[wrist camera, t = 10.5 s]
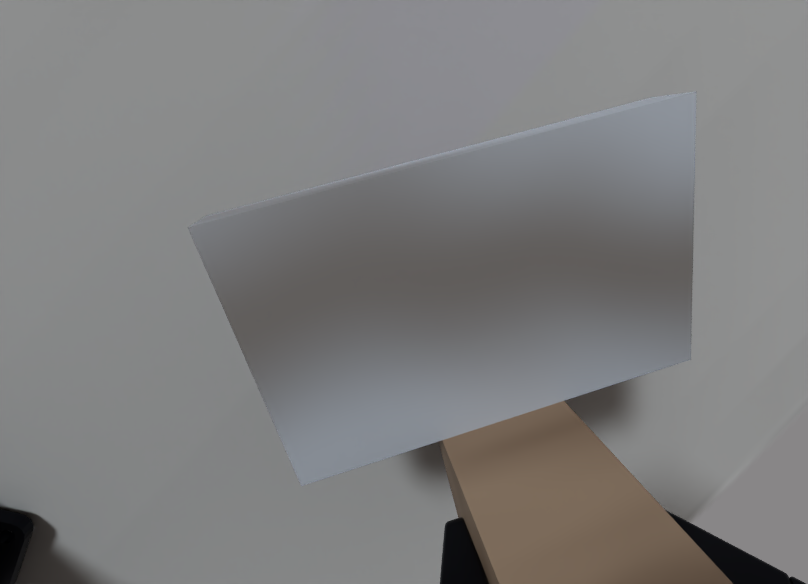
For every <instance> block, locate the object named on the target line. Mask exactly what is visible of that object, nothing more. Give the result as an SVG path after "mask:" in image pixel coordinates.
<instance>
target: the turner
mask: <svg viewBox="0 0 808 584" xmlns="http://www.w3.org/2000/svg"><path fill="white" fill-rule="evenodd" d="M695 134H696V92H689V93H681V94H674V95H666V96H659V97H651V98H647V99H643V100H640V101H636V102H632V103H628V104H625V105H621V106H617V107H613V108H610V109H606V110H602V111H598V112H595V113H591V114H587V115H583V116H580V117H576V118H572V119H568V120H564V121H561V122H557V123H553V124H549V125H546V126H542V127H538V128H534V129H531V130H527V131H523V132H519V133H516V134H512V135H508V136H504V137H501V138H497V139H493V140H489V141H486V142H482V143H478V144H474V145H471V146H467V147H463V148H459V149H455V150H452V151H448V152H444V153H440V154H437V155H433V156H429V157H425V158H422V159H418V160H414V161H410V162H407V163H403V164H399V165H395V166H392V167H388V168H384V169H380V170H377V171H373V172H369V173H365V174H362V175H358V176H354V177H350V178H346V179H343V180H339V181H335V182H331V183H328V184H324V185H320V186H316V187H313V188H309V189H305V190H301V191H298V192H294V193H290V194H286V195H283V196H279V197H275V198H271V199H268V200H264V201H260V202H256V203H253V204H249V205H245V206H241V207H237V208H234V209H230V210H226V211H222V212H219V213H215V214H211V215H207V216H205V217H203V218H202V219H200V220H199V221H197V222H196V223H194V224H192V225H191V226H189V227H188V229H189V231H190V234H191V236H192V238H193V240H194V243H195V245H196V247H197V250H198V252H199V254H200V256H201V259H202V261H203V263H204V266H205V268H206V270H207V272H208V275H209V277H210V279H211V281H212V284H213V286H214V288H215V291H216V293H217V295H218V297H219V300H220V302H221V304H222V307H223V309H224V311H225V313H226V316H227V318H228V320H229V322H230V325H231V327H232V329H233V332H234V334H235V336H236V338H237V341H238V343H239V345H240V348H241V350H242V352H243V354H244V357H245V359H246V361H247V363H248V366H249V368H250V370H251V373H252V375H253V377H254V379H255V382H256V384H257V386H258V389H259V391H260V393H261V395H262V398H263V400H264V402H265V404H266V407H267V409H268V411H269V414H270V416H271V418H272V420H273V423H274V425H275V427H276V430H277V432H278V434H279V436H280V439H281V441H282V443H283V445H284V448H285V450H286V452H287V455H288V457H289V459H290V461H291V464H292V466H293V468H294V471H295V473H296V475H297V477H298V480H299V482H300V484H301V486H303V485H306V484H309V483H312V482H315V481H318V480H322V479H325V478H328V477H331V476H334V475H337V474H340V473H343V472H346V471H349V470H352V469H355V468H358V467H362V466H365V465H368V464H371V463H374V462H377V461H380V460H383V459H386V458H389V457H392V456H395V455H398V454H402V453H405V452H408V451H411V450H414V449H417V448H420V447H423V446H426V445H429V444H432V443H435V442H438V441H439V445H440V449H441V453H442V457H443V460H444V464H445V468H446V472H447V476H448V480H449V483H450V487H451V491H452V495H453V499H454V502H455V506H456V510H457V514H458V518H460V517H462V518H464V521H465V523H466V526H467V528H468V531H469V533H470V536H471V538H472V541H473V543H474V546H475V548H476V551H477V553H478V556H479V558H480V561H481V563H482V566H483V568H484V571H485V573H486V576H487V579H488V583H489V584H733V583H732V582H731V581H730V580H729V579H728V578H727V577H726V575H725V574H724V573H723V572H722V571H721V570H720V569H719V568H718V567H717V566H716V565H715V564H714V562H713V561H712V560H711V559H710V558H709V557H708V556H707V555H706V554H705V553H704V552H703V551H702V550H701V548H700V547H699V546H698V545H697V544H696V543H695V542H694V541H693V540H692V539H691V538H690V537H689V535H688V534H687V533H686V532H685V531H684V530H683V529H682V528H681V527H680V526H679V525H678V524H677V522H676V521H675V520H674V519H673V518H672V517H671V516H670V515H669V514H668V513H667V512H666V511H665V510H664V508H663V507H662V506H661V505H660V504H659V503H658V502H657V501H656V500H655V499H654V498H653V497H652V495H651V494H650V493H649V492H648V491H647V490H646V489H645V488H644V487H643V486H642V485H641V484H640V482H639V481H638V480H637V479H636V478H635V477H634V476H633V475H632V474H631V473H630V472H629V471H628V470H627V468H626V467H625V466H624V465H623V464H622V463H621V462H620V461H619V460H618V459H617V458H616V457H615V455H614V454H613V453H612V452H611V451H610V450H609V449H608V448H607V447H606V446H605V445H604V444H603V442H602V441H601V440H600V439H599V438H598V437H597V436H596V435H595V434H594V433H593V432H592V431H591V430H590V428H589V427H588V426H587V425H586V424H585V423H584V422H583V421H582V420H581V419H580V418H579V417H578V415H577V414H576V413H575V412H574V411H573V410H572V409H571V408H570V407H569V406H568V405H567V404H566V402H565V400H568V399H571V398H574V397H577V396H580V395H583V394H586V393H589V392H592V391H595V390H598V389H602V388H605V387H608V386H611V385H614V384H617V383H620V382H623V381H626V380H629V379H632V378H635V377H638V376H642V375H645V374H648V373H651V372H654V371H657V370H660V369H663V368H666V367H669V366H672V365H675V364H678V363H682V362H685V361H688V360H691V323H692V276H693V229H694V181H695Z"/></svg>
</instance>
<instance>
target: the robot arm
mask: <svg viewBox="0 0 808 584" xmlns="http://www.w3.org/2000/svg"><path fill="white" fill-rule="evenodd" d="M664 510H665V509H664ZM665 511H666V510H665ZM666 512H667V513H668V514H669V515H670V516H671V517H672V518H673V519H674V520H675V521H676V522H677V524H678V525H679V526H680V527H681V528H682V529H683V530H684V531H685V532H686V533H687V534H688V535H689V537H690V538H691V539H692V540H693V541H694V542H695V543H696V544H697V545H698V546H699V547H700V548H701V550H702V551H703V552H704V553H705V554H706V555H707V556H708V557H709V558H710V559H711V560H712V561H713V562H714V564H715V565H716V566H717V567H718V568H719V569H720V570H721V571H722V572H723V573H724V574H725V575H726V577H727V578H728V579H729V580H730V581H731V582H732V583H733V584H805V583H804V582H802V581H800V580H798V579H796V578H794V577H790V578H789V577H788V575H787V574H786V573H784V572H783V571H780V570H778V569H777V568H775V567H773V566H771V565H769V564H767V563H765V562H764V561H762V560H760V559H758V558H756V557H754V556H752V555H750V554H748V553H746V552H744V551H743V550H741V549H738V548H737V547H735V546H733V545H731V544H729V543H727V542H725V541H723V540H722V539H719V538H718V537H716V536H714V535H712V534H710V533H708V532H706V531H705V530H703V529H701V528H699V527H697V526H695V525H693V524H691V523H689V522H687V521H686V520H684V519H682V518H680V517H678V516H676V515H674V514H672V513H670V512H668V511H666ZM8 530H9V531H8ZM10 531H11V532H10ZM32 532H33V523H32V521H31V519H29V518H28V517H27V516H25V515H22V514H20V513H15V512H11V511H6V510H1V509H0V584H15V582H16V579H17V576H18V573H19V570H20V567H21V564H22V561H23V558H24V555H25V552H26V549H27V547H28V544H29V541H30V538H31V535H32ZM440 584H489V583H488V579H487V576H486V573H485V571H484V568H483V566H482V563H481V561H480V558H479V556H478V553H477V551H476V548H475V546H474V543H473V541H472V538H471V536H470V533H469V531H468V528H467V526H466V523H465V521H464V518H462V517H460V518H457V519H454V520H451V521H448V522H447V523H446V525H445V531H444V542H443V554H442V565H441V577H440Z"/></svg>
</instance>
